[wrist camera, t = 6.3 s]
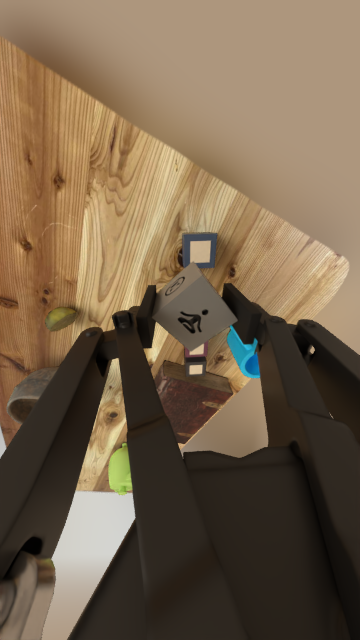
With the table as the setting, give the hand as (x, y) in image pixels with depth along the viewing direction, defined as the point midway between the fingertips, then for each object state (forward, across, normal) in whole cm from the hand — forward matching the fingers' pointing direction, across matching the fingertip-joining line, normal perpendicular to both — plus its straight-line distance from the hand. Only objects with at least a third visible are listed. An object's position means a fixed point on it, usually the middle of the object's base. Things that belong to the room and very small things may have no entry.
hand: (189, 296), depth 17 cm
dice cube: (0, 0, 0) cm, 0 cm away
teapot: (+13, -22, -71) cm, 75 cm away
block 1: (+13, +2, +3) cm, 13 cm away
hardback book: (+13, -2, -39) cm, 41 cm away
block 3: (+13, +2, -21) cm, 24 cm away
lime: (+13, -23, -8) cm, 27 cm away
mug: (+13, +13, -14) cm, 23 cm away
